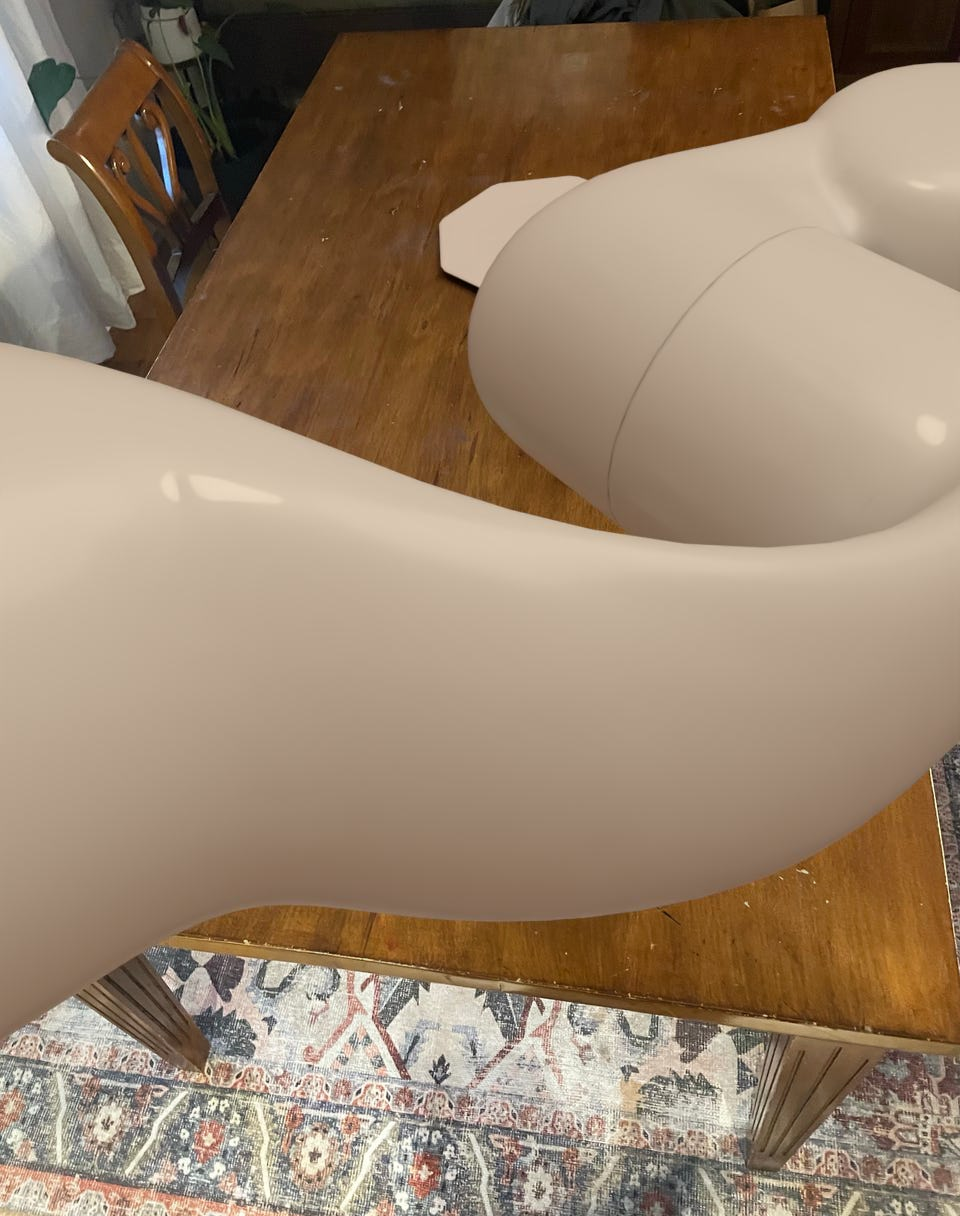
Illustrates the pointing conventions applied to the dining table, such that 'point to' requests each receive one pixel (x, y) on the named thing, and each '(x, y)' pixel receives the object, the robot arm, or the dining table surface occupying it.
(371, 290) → the dining table surface
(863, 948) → the dining table surface
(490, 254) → the plate
